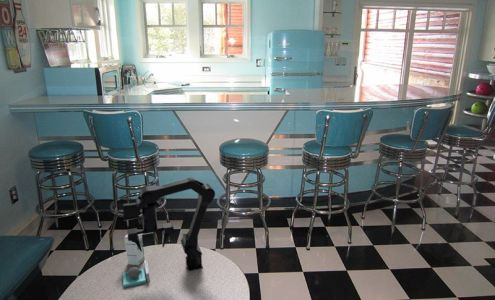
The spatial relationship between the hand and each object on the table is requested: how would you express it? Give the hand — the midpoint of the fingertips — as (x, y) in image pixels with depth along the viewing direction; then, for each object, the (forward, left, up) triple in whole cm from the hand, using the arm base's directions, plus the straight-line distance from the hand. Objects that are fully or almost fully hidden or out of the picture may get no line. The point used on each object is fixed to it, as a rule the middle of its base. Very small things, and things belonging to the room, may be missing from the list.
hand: (152, 249), depth 150 cm
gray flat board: (+3, -1, -12) cm, 13 cm away
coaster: (+8, +1, -12) cm, 15 cm away
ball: (+8, 0, -12) cm, 15 cm away
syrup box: (+7, -13, -13) cm, 19 cm away
